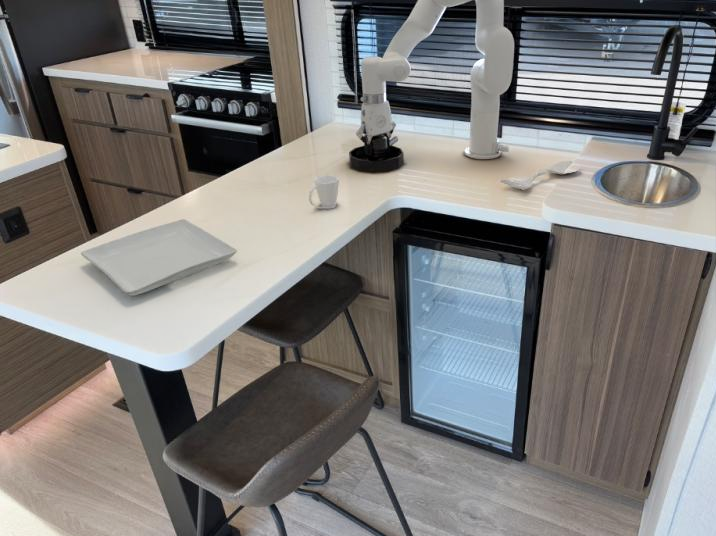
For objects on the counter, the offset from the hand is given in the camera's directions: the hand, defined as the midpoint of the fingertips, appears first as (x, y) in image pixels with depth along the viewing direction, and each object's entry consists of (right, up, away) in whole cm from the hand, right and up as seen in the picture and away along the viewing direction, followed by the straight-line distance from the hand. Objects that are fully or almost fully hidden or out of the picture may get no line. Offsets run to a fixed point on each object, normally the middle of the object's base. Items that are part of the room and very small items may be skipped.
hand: (377, 151), depth 204 cm
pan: (+1, -1, +6) cm, 6 cm away
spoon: (+53, -13, -14) cm, 56 cm away
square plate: (-50, -42, -58) cm, 87 cm away
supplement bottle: (0, -3, +2) cm, 4 cm away
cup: (-14, -24, -30) cm, 41 cm away
